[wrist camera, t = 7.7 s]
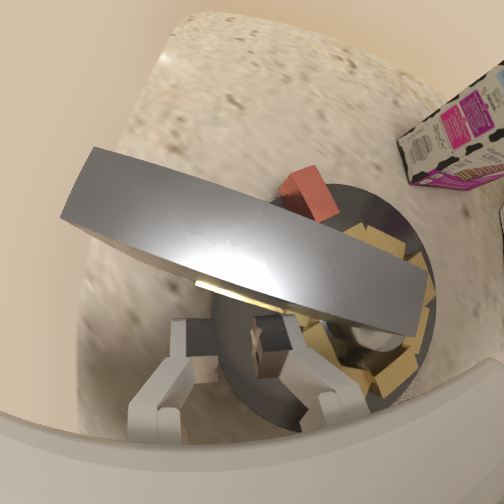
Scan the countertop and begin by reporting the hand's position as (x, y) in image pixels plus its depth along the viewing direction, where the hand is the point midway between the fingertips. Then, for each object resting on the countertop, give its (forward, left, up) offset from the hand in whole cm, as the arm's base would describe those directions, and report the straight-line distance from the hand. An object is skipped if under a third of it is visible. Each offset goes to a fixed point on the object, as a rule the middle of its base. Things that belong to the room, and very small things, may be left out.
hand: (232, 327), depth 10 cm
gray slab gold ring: (-4, +2, -5) cm, 7 cm away
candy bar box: (-25, +4, -8) cm, 26 cm away
